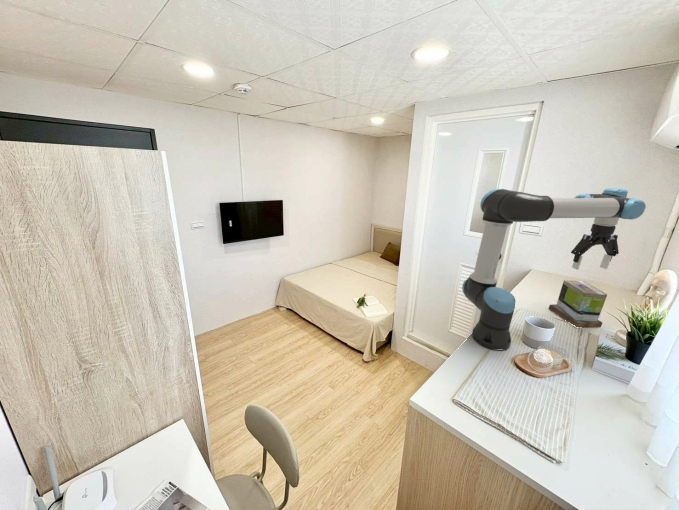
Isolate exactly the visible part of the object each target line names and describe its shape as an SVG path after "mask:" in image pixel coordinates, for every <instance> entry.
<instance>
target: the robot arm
mask: <svg viewBox="0 0 679 510" xmlns="http://www.w3.org/2000/svg"><path fill="white" fill-rule="evenodd" d="M628 193H629V190H627V189H626V188H625V189H624V188H605V189H604V190H603V191H602V193H583V194H581V193H580V194H578V195H576V196H575V197H567V198H563V197H562V198H561V197H559V198H557V197H556V198H555V197H552V196H550V195H537V194H532V193H529V192H521V191H517V190H516V191H515V190H508V189H506V188H505V189H504V188H496V189H492V190H490V191H488V192H487V193H485V194H484V196H483V197H482V198H481V201H480V210H481V211H482V213H483V214H482V219H481V220H482V221H483V222H484V228H483V233H482V236H481V240H480V245H479V249H478V254H477V258H476V262H475V266H474V269H473V272H472V273H470V274H469V276H468V277H467V278H466V279H465V280H464V281H463V282H462V288H461V290H462V294H463V295H464V296H465V298H466V299H467V300H468V301H470V302H471V303H472V304H473V305H474V306H475V307H476V308H477V309H478V310H480V315H479V319H478V322H477V323H476V324H475V326H474V327H473V329H472V334H471V337H472V339H473V340H474V341H475V342H476V343H477V344H479V345H480V346H482V347H485V348H487V349H490V350H493V349H506V350H508V349H509V348H510V347H511V344H512V337H511V332H510V326H511V323H512V321H513V320H512V319H513V315H514V312H515V308H516V296H514V294H513V293H511V292H510V291H508V290H507V289H503V288H501V287H497V284H498V280H497V278H496V277H495V275H496V272H497V268H498V264H499V260H500V257H501V253H502V248H503V245H504V240H505V238H506V234H507V230H508V227H509V226H511V225H512V224H513V223H514V222H515V223H526V222H527V223H528V222H531V223H532V222H546V221H548V220H550V219H593V218H594V220H593V224H591V228H590V232H591V234H590V235H589V234H585V233H584V234H583V235H582V238H581V239H580V240H579V242H578V243H576V245H575V246H574V247H573V249H571V251H570V254H571V255H574V257H573V260H572V261H573V263H572V266H571V268H572V269H574V270H580V269H579V268H580V266H581V263H582V261H583V257H584V256H583V255H584V254H585V253H586V252H587V251H589V250H590V249H591V248H592V247H594V246H600V245H601V246H602V248H603V249H604V251H605V253H604V254H603V258H602V260H601V263H600V266H599V267H600V268H602V269H604V270H607V269H608V268H609V265H610V263H611V261H612V259H613V257H616V256H617V255H619V254H620V253H619V252H620V251H619V245H618V238H619V236H618V234H614V233H615V230H616V228H617V226H616V225H618V223H619V220H620V219H622V220H632V221H633V220H636V219H638V218H640V217H641V216H642V215H643V214H644V213H645V210H646V207H647V205H646V203H645V201H644V200H641V199H637V198H634V197H632V198H630V197H629V198H628ZM507 348H508V349H507Z"/></svg>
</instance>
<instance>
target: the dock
mask: <svg viewBox="0 0 679 510" xmlns="http://www.w3.org/2000/svg"><path fill="white" fill-rule="evenodd" d="M548 310H549V311H550V312H552V313H554V314H555V315H556V316H558V317H559V318H560V319H562V320H563V321H565V320H566V321H567V323H568V322H570V323H571V324H573V325H575V326H576V327H582V328H581V329H590V328H592V329H593V328H599V329H601V327H602V326H603V321H601V320H599V319H598V321H583V320H575V319H574V318H572V317H571V316H570V315H569V314H568V313H566V312H565V311H564V310H563V309H562V308H560V307H559V306H558V305H557V303H556V304H549V305H548ZM566 321H565V322H566ZM571 324H570V325H571Z"/></svg>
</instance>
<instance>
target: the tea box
mask: <svg viewBox="0 0 679 510" xmlns="http://www.w3.org/2000/svg"><path fill="white" fill-rule="evenodd" d="M607 297H608V293H605V292H604V291H603V290H601V289H599V288H597V287H596V286H593V285H592V284H590V283H588V282H586V281H585V280H582V281H581V280H568V279H567V280H566V279H564V280H563V283H562V285H561V289H560V292H559V296H558V298H557V301H556V304H557V305H558V306H559V307H560V308H562V309H563V310H564V311H565V312H566V313H568V314H569V315H570V316H571V317H572V318H574V319H575V320H583V321H598V320H599V318H600V315H601V312H602V310H603V307H604V305H605V302H606V300H607Z"/></svg>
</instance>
